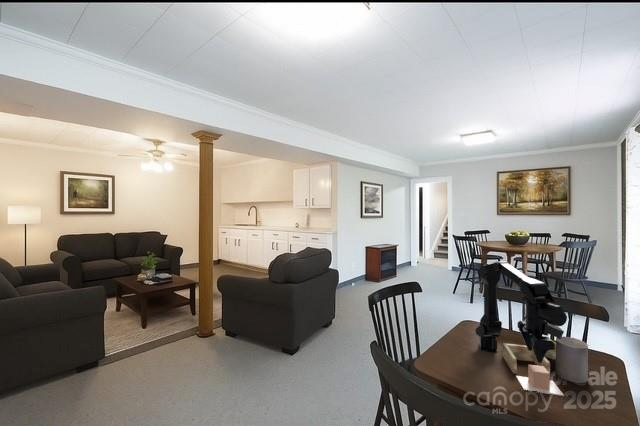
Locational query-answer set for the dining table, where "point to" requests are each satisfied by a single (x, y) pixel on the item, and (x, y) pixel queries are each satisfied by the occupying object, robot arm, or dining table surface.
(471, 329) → the dining table surface
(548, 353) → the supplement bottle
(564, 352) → the pillar candle
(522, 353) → the open front box
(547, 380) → the terracotta block
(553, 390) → the cream mat
